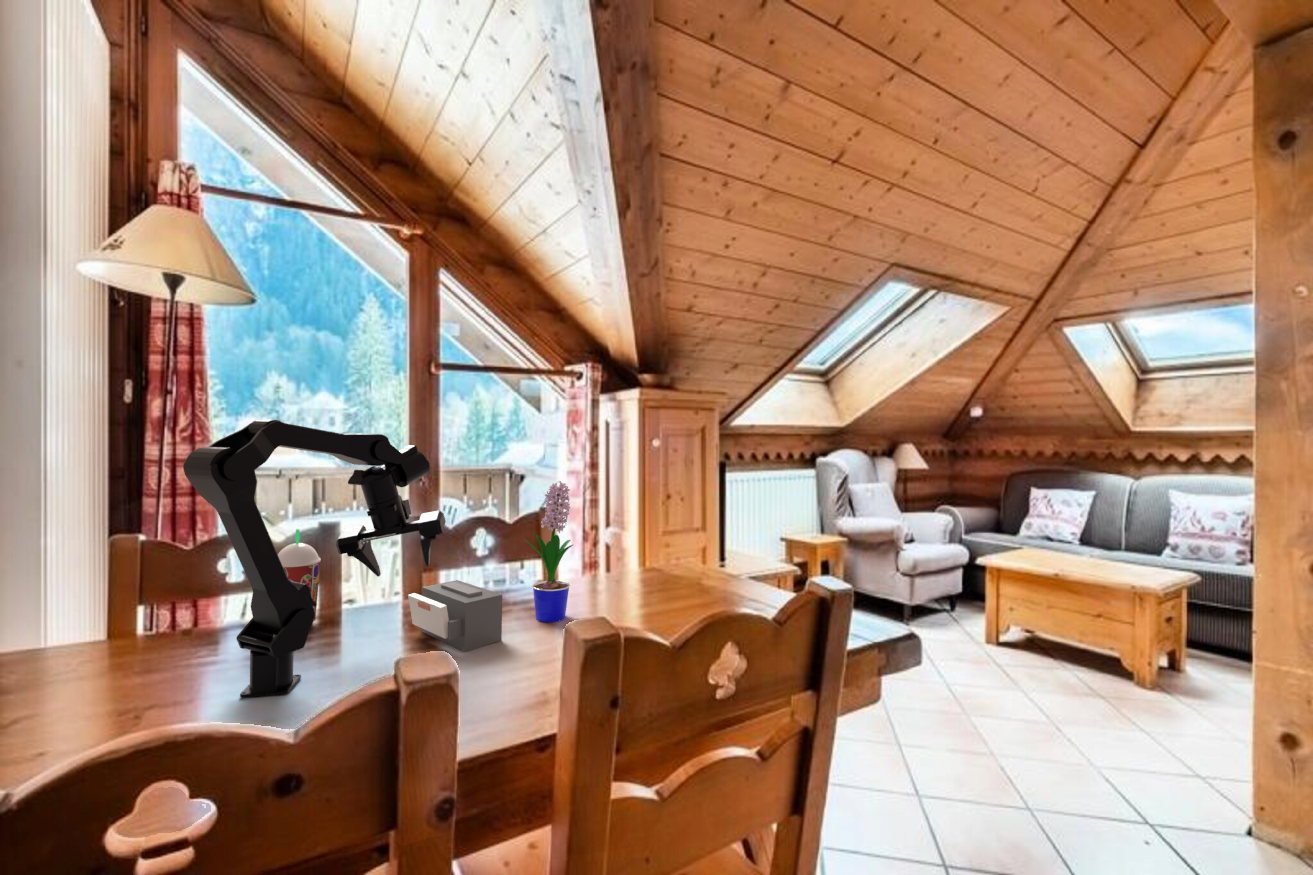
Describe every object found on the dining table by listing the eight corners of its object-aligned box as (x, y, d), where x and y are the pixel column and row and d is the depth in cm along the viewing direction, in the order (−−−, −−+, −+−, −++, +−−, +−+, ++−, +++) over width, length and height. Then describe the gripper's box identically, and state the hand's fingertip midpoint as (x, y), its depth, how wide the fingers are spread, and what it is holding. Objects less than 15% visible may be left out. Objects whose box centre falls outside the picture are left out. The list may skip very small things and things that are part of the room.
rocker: (443, 639, 109) (439, 608, 108) (411, 624, 117) (406, 595, 116) (451, 636, 110) (446, 605, 110) (418, 621, 118) (413, 592, 117)
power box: (452, 655, 108) (453, 602, 108) (409, 634, 119) (409, 586, 119) (501, 640, 116) (502, 591, 116) (456, 622, 127) (457, 577, 127)
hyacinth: (521, 613, 134) (523, 479, 133) (567, 610, 137) (569, 479, 137) (524, 626, 125) (527, 483, 125) (573, 622, 128) (576, 482, 128)
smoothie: (328, 622, 125) (330, 527, 125) (301, 636, 117) (302, 533, 117) (291, 620, 126) (292, 525, 126) (261, 633, 118) (262, 532, 117)
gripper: (439, 473, 121) (457, 541, 126) (341, 491, 118) (363, 560, 123) (431, 494, 111) (451, 567, 116) (324, 514, 108) (349, 589, 113)
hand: (403, 570), depth 117 cm, fingers open, 9 cm apart
